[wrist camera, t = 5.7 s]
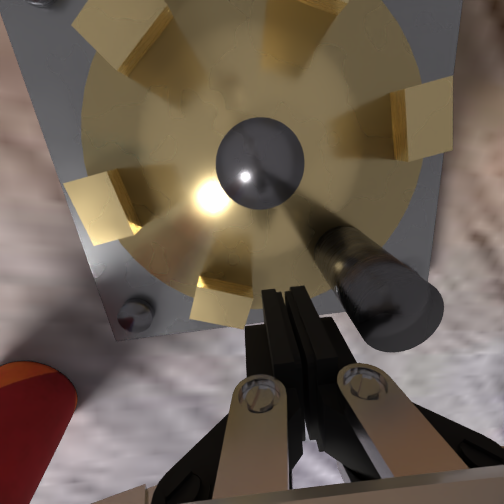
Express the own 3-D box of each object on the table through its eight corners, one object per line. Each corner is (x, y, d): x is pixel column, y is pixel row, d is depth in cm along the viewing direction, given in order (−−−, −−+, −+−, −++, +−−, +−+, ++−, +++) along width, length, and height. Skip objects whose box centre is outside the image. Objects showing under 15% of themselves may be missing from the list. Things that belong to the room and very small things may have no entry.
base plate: (9, -47, 12) (-48, -92, 10) (442, -96, 12) (493, -153, 10) (127, 320, 19) (111, 348, 16) (406, 284, 19) (431, 306, 17)
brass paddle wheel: (37, 152, 13) (-178, 172, 6) (252, -134, 10) (291, -699, 3) (252, 328, 17) (264, 457, 10) (449, 160, 14) (649, 184, 7)
